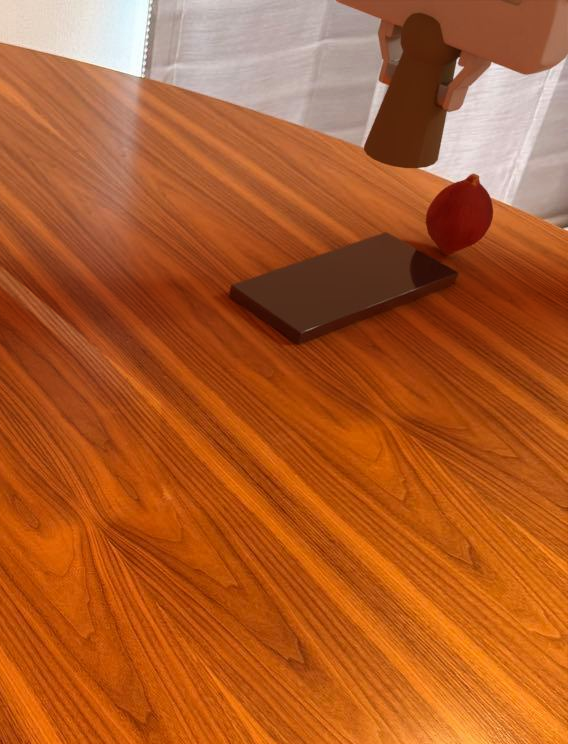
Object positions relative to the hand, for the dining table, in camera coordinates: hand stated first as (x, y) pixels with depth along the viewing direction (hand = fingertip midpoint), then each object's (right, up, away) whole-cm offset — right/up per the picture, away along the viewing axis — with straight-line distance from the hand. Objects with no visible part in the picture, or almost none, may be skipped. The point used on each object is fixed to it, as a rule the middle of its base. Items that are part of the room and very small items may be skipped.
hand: (417, 95), depth 78 cm
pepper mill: (0, -3, +3) cm, 5 cm away
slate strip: (-2, -13, +12) cm, 17 cm away
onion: (+10, -8, +17) cm, 21 cm away
